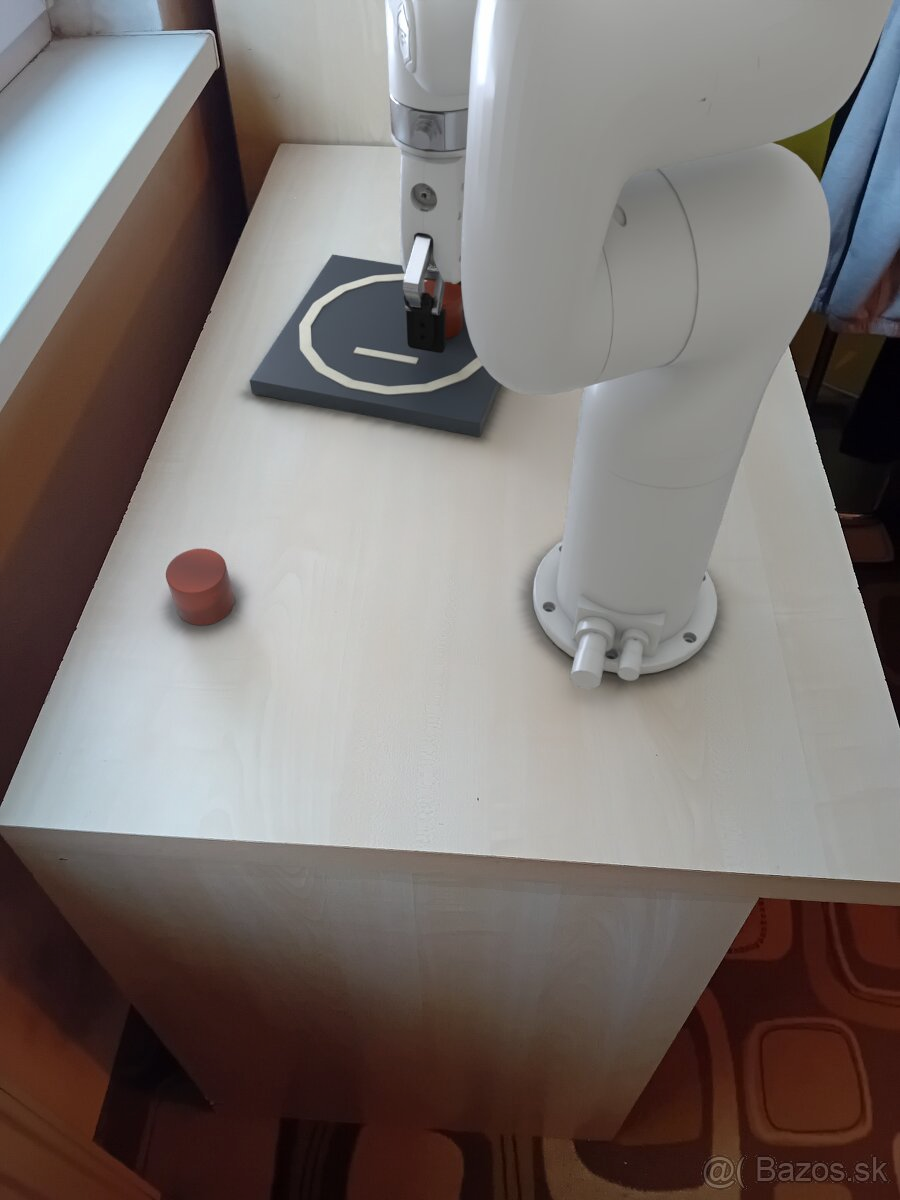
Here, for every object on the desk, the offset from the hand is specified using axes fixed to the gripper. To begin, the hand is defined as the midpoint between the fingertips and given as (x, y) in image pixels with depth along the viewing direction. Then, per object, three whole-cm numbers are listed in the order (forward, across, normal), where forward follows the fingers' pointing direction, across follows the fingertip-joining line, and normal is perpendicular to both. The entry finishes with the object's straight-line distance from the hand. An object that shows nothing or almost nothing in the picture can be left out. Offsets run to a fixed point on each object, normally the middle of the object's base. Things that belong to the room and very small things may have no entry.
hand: (442, 316), depth 84 cm
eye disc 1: (+3, -33, +8) cm, 34 cm away
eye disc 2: (+1, 0, 0) cm, 1 cm away
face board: (+3, -1, +4) cm, 5 cm away
